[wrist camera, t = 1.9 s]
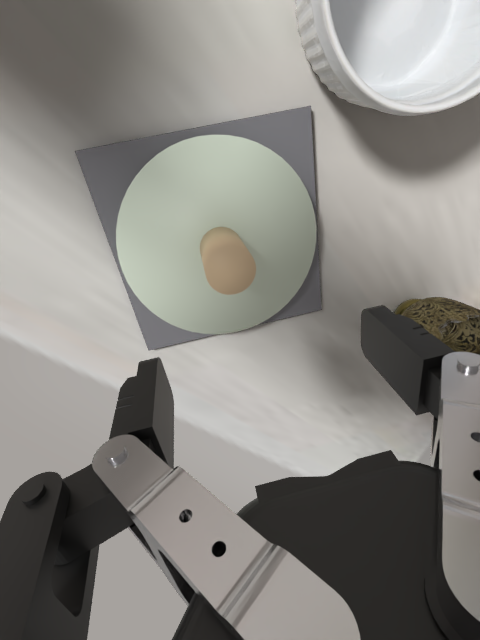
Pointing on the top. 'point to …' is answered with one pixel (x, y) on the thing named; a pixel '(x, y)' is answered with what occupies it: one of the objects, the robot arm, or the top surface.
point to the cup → (446, 321)
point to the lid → (216, 234)
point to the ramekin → (394, 51)
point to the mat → (131, 156)
